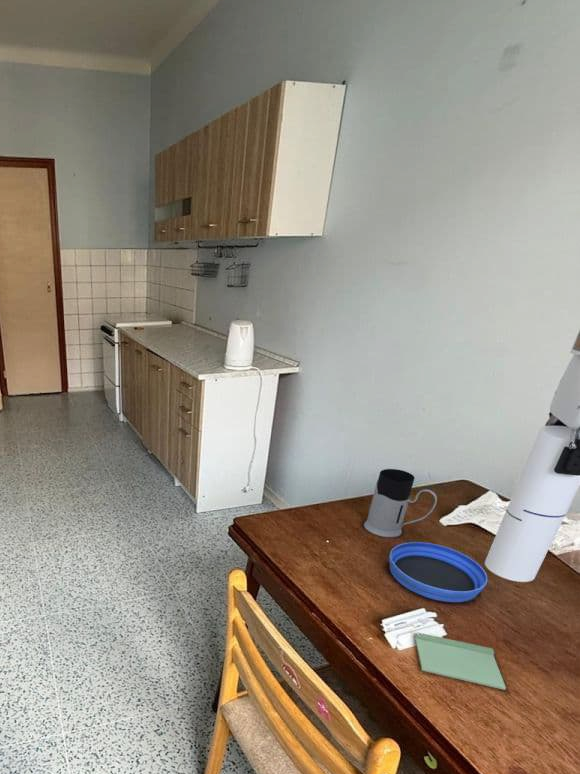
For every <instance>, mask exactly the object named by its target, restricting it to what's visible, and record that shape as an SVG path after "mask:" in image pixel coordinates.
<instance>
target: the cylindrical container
mask: <svg viewBox="0 0 580 774" xmlns="http://www.w3.org/2000/svg"><path fill="white" fill-rule="evenodd" d="M570 435H571V428H570V427H566V426H545V425H544V426H541V427H540V428H539V431H538V433H537V436H536V439H535V441H534V443H533V444H532V445H533V446H532V447H531V450H530V453H529V455H528V457H527V460H526V462H525V464H524V467H523V469H522V472H521V474H520V476H519V479H518V481H517V484H516V486H515V489H514V491H513V493H512V495H511V498H510V501H509V503H508V505H507V508H506V510H505V513H504V515H503V517H502V519H501V522H500V525H499V527H498V529H497V532H496V534H495V537H494V539H493V542H492V544H491V546H490V548H489V550H488V554H487V556H486V558H485V561H484V565H485V567H486V569H487V570H489V571H490V572H491V573H492V574H494V575H495V576H498V577H500V578H502V579H505V580H508V581H513V582H519V583H528V582H532V581H534V580H535V578H536V577H537V575H538V572H539V570H540V569H541V566H542V564H543V562H544V560H545V558H546V555H547V553H548V552H549V550H550V548H551V545H552V544H553V542H554V540H555V537H556V535H557V533H558V530H559V529H560V527H561V525H562V523H563V521H564V519H565V517H566V515H567V513H568V511H569V509H570V507H571V505H572V503H573V501H574V499H575V496H576V494H577V492H578V490H579V488H580V476H576V475H567V474H558V473H556V472H555V471H554V469H555V467H556V464H557V462H558V460H559V458H560V455H561V453H562V451H563V449H564V447H568V446H569V440H570ZM579 439H580V435H579Z"/></svg>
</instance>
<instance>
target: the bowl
mask: <svg viewBox="0 0 580 774" xmlns="http://www.w3.org/2000/svg"><path fill="white" fill-rule="evenodd" d="M388 562H389V570H390V573H391V575H392V576H393V578H394V579H395V580H396V581H397V582H398V583H399V584H400V585H402V586H403V587H404V588H406V589H407V590H409V591H411V592H413V593H415V594H417V595H418V596H419V595H420V596H422V597H424V598H428V599H431V600H435V601H438V602H439V601H440V602H444V603H463V602H469V601H471V600H473V599H475V598H477V596H478V595H479V594H480V593H481V592H482V591H483V590H484V589H485V588H486V586H487V583H488V575H487V572H486V570H484V568H483V567H482V566H481V565H480V564H479V563H478V562H477V561H475V560H474V559H472V558H471V557H469V556H468V555H466V554H464V553H462V552H460V551H458V550H455V549H453V548H450V547H448V546H444V545H442V544H441V545H440V544H436V543H431V542H424V541H423V542H422V541H412V542H404V543H400V544H397V545H396V546H394V547H393V548H392V549H391V551H390V553H389V556H388Z"/></svg>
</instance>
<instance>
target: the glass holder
mask: <svg viewBox="0 0 580 774" xmlns="http://www.w3.org/2000/svg"><path fill="white" fill-rule="evenodd" d="M414 482H415V476H414V474H412V473H410V472H408V471H406V470H402V469H396V468H385V469H381V470H380V472H379V475H378V479H377V481H376V484H375V488H374V492H373V495H372V499H371V503H370V506H369V511H368V515H367V519H366V520H365V522H364V523H363V526H364V527H363V528H364V529H365V530H367V532H369V533H370V534H373V535H376V536H378V537H382V538H383V537H384V538H396V537H399V536H401V535H402V533H403V531H402V528H403V526H405V525H410V524H414V523H417V522H419V521H422V520H424V519H426V518H427V517H429V516H430V515H431V514H432V512H433V511H434V510H435V508H436V506H437V502H438V497H437V494H436V493H435V492H434V491H433V490H430V489H421V490H420V491H418V492H417V493H416V495H415V498H414V500H411V492H412V488H413V485H414ZM424 492H427V493H430V494H431V495H432V496H433V498H434V503H433V505H432V508H431V509H430V510H429V512H428V513H426V514H425V515H424V516H422V517H419V518H417V519H414V520H411V521H406V522H404V519H405V516H406V512H407V509H408V506H409V503H410V504H411V503H412V504H414V503H416V502H417V500H418V499H419V497H420V494H421V493H424Z"/></svg>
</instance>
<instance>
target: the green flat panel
mask: <svg viewBox="0 0 580 774" xmlns="http://www.w3.org/2000/svg"><path fill="white" fill-rule="evenodd" d="M416 632H417V631H416ZM416 632H415V633H414V635H413V636H414V640H415V646H416V649H417V655H418V660H419V664H420V670H421V671H422V672H427V673H431V674H435V675H438V676H443V677H447V678H452V679H456V680H460V681H465V682H469V683H473V684H477V685H482V686H486V687H490V688H494V689H499V690H503V691H506V689H507V686H506V684H505V681H504V679H503V676H502V674H501V671H500V669H499V666H498V663H497V660H496V658H495V651H494V649H493V648H492V647H487V646H482V645H479V644H473V643H469V642H465V641H460V640H455V639H450V638H445V637H440V636H436V635H432V634H426V633H422V632H417V633H418V634H419V635H418V634H417V633H416ZM421 633H422V634H421Z"/></svg>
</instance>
